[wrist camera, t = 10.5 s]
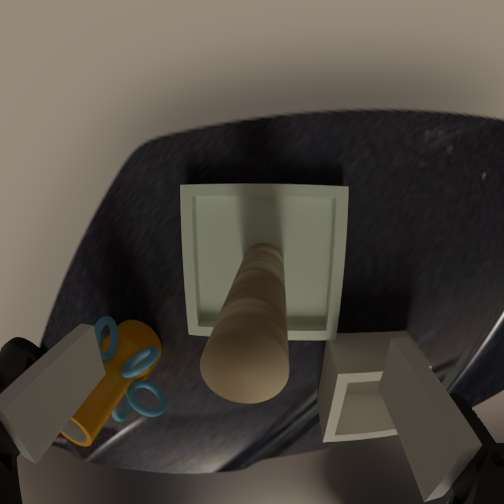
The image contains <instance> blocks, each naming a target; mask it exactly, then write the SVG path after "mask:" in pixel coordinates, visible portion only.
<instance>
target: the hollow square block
mask: <svg viewBox="0 0 504 504" xmlns="http://www.w3.org/2000/svg"><path fill="white" fill-rule="evenodd" d="M401 337H407V338H408V339H409V341H410V342H411V343H412V345H413V346H414V347H415V349H416V350H417V351H418V353H419V354H420V355H421V357H422V358H423V359H424V361H425V362H426V363H427V365H428V366H429V367H430V369H431V368H432V365H431V364H430V362H429V361H428V359H427V358H426V357H425V355H424V354H423V353H422V351H421V350H420V348H419V347H418V346H417V344H416V343H415V342H414V340H413V339H412V338H411V336H410V335H409V334H408V332H407V331H392V332H370V333H337V334H336V340H326V343H325V351H324V358H323V365H322V372H321V378H320V384H319V391H318V396H317V402H318V409H319V416H320V424H321V431H322V439H323V442H335V441H348V440H359V439H367V438H376V437H384V436H390V435H396V434H398V433H397V431H396V428H395V426H394V424H393V421H392V419H391V416H390V414H389V412H388V410H387V407H386V405H385V403H384V400H383V398H382V396H381V394H380V391H379V389H378V388H379V384H380V381H381V377H382V373H383V370H384V366H385V362H386V358H387V354H388V350H389V346H390V341H391V338H401Z"/></svg>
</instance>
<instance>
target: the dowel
mask: <svg viewBox="0 0 504 504" xmlns="http://www.w3.org/2000/svg"><path fill="white" fill-rule="evenodd" d="M200 370H201V374H202V377H203V379H204V381H205V382H206V384H207V385H208V386H209V387H210V389H211V390H213V391H214V392H215V393H216V394H218V395H219V396H221V397H223V398H225V399H228V400H230V401H234V402H238V403H257V402H262V401H265V400H268V399H270V398H272V397H274V396H275V395H277V394H278V393H279V392H280V391H281V390H282V389H283V388H284V386H285V385H286V383H287V380H288V377H289V353H288V331H287V311H286V292H285V275H284V260H283V256H282V254H281V252H280V251H279V250H278V248H276V247H275V246H273V245H271V244H268V243H258V244H255V245H253V246H252V247H250V248H249V249H248V250H247V252H246V253H245V256H244V258H243V260H242V263H241V265H240V267H239V269H238V272H237V274H236V276H235V279H234V281H233V283H232V286H231V288H230V290H229V293H228V295H227V297H226V300H225V302H224V304H223V307H222V309H221V312H220V314H219V316H218V319H217V321H216V323H215V326H214V328H213V330H212V333H211V335H210V337H209V340H208V342H207V344H206V347H205V349H204V351H203V354H202V357H201V360H200Z"/></svg>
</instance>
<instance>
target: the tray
mask: <svg viewBox="0 0 504 504" xmlns="http://www.w3.org/2000/svg"><path fill="white" fill-rule="evenodd" d="M348 188H349V187H346V186H329V185H304V184H188V185H180V196H181V230H182V251H183V269H184V284H185V297H186V309H187V321H188V331H189V335H200V336H210V335H211V333H212V330H213V328H214V326H215V323H216V321H217V319H218V316H219V314H220V312H221V309H222V307H223V304H224V302H225V300H226V297H227V295H228V293H229V290H230V288H231V286H232V283H233V281H234V279H235V276H236V274H237V272H238V269H239V267H240V265H241V263H242V260H243V258H244V256H245V253H246V252H247V250H248V249H249V248H250V247H252V246H253V245H255V244H258V243H268V244H271V245H273V246H275V247H276V248H278V250H279V251H280V252H281V254H282V256H283V260H284V275H285V292H286V311H287V331H288V340H336V334H337V327H338V319H339V311H340V302H341V293H342V284H343V273H344V262H345V249H346V234H347V216H348Z"/></svg>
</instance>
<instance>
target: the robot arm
mask: <svg viewBox="0 0 504 504" xmlns="http://www.w3.org/2000/svg"><path fill="white" fill-rule="evenodd" d="M105 374H106V373H105V369H104V366H103V362H102V359H101V355H100V351H99V347H98V343H97V339H96V335H95V330H94V326H92V325H86V324H80V325H79V326H77V327H76V328H75V329H74V330H73V331H71V332H70V333H69V334H68V335H67V336H65V337H64V338H63V339H62V340H61V341H60V342H58V343H57V344H56V345H55V346H54V347H52V348H51V349H50V350H49V351H48V352H47V353H44V352H43V351H42V350H41V349H40V348H39V347H37V346H36V345H35V344H33V343H32V342H30V341H29V340H27V339H24V338H21V337H16V338H13V339H11V340H10V341H8V342H7V343H6V344H5V345H4V346H3V347H2V349H1V351H0V504H22V498H21V493H20V485H19V477H18V468H17V456H18V455H19V454H20V453H21V454H22V455H23V456H24V457H25V458H27V459H29V460H30V461H32V462H34V463H36V464H37V463H38V462H39V460H40V459H41V457H42V456H43V455H44V453H45V452H46V451H47V449H48V448H49V447H50V445H51V444H52V443H53V441H54V440H55V439H56V437H57V436H58V435H59V433H60V432H61V431H62V429H63V428H64V427H65V425H66V424H67V423H68V421H69V420H70V419H71V417H72V416H73V415H74V414H75V412H76V411H77V410H78V408H79V407H80V406H81V404H82V403H83V402H84V401H85V399H86V398H87V397H88V396H89V394H90V393H91V392H92V390H93V389H94V388H95V387H96V385H97V384H98V383H99V382H100V380H101V379H102V378H103V377H104V375H105ZM378 389H379V391H380V394H381V396H382V398H383V400H384V403H385V405H386V407H387V410H388V412H389V414H390V416H391V419H392V421H393V424H394V426H395V428H396V431H397V433H398V435H399V438H400V440H401V443H402V445H403V448H404V450H405V453H406V455H407V457H408V460H409V463H410V465H411V468H412V470H413V473H414V476H415V478H416V481H417V484H418V486H419V489H420V492H421V495H422V497H423V500H424V502H426V501H429V500H432V499H435V498H438V497H441V496H443V495H444V494H445V493H446V492H447V491H448V490H449V488H450V487H452V489H453V491H454V494H453V495H452V496H451V497H450V498H449V499H448V500H447V501H446V502H445V503H444V504H504V443H496V442H495V441H494V439H493V438H492V436H491V435H490V433H489V432H488V430H487V429H486V427H485V426H484V425H483V423H482V422H481V420H480V419H479V418H477V414H476V413H475V412H474V410H473V411H472V407H471V406H470V405H469V403H468V402H467V401H466V399H464V398H463V397H461V396H460V395H458V394H457V393H453V394H448V392H447V391H446V390H445V388H444V387H443V385H442V384H441V383H440V381H439V380H438V378H437V377H436V376H435V374H434V373H433V371H432V370H431V369H430V367H429V366H428V365H427V363H426V362H425V361H424V359H423V358H422V357H421V355H420V354H419V353H418V351H417V350H416V349H415V347H414V346H413V345H412V343H411V342H410V341H409V339H408V338H407V337H401V338H391V341H390V346H389V350H388V354H387V358H386V362H385V366H384V370H383V373H382V377H381V381H380V384H379V388H378Z"/></svg>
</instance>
